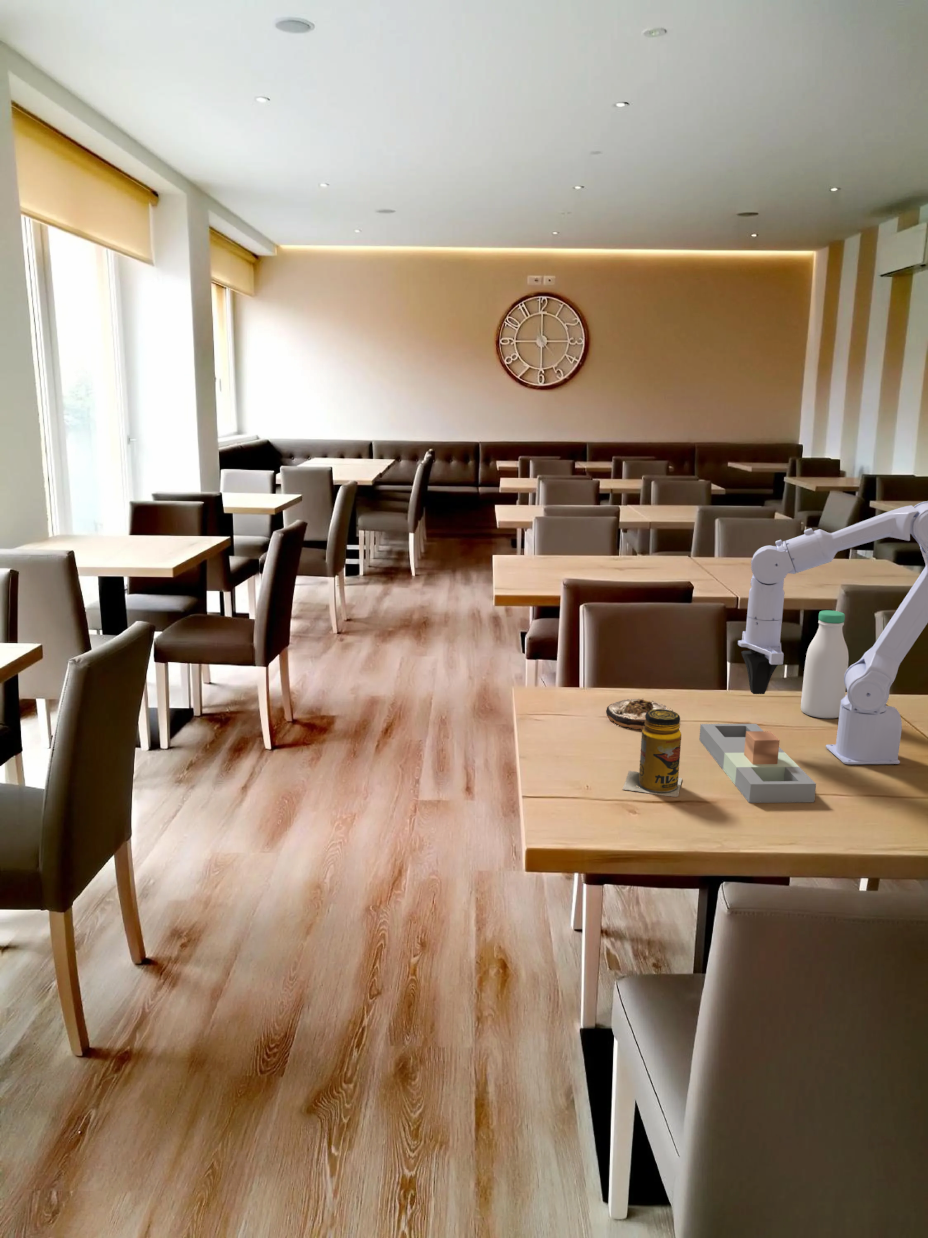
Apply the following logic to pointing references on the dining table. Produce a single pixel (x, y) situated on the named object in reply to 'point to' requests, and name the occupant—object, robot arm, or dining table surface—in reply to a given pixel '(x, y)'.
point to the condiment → (658, 755)
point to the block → (761, 747)
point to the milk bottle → (825, 668)
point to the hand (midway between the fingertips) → (757, 693)
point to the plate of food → (631, 712)
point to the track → (756, 767)
